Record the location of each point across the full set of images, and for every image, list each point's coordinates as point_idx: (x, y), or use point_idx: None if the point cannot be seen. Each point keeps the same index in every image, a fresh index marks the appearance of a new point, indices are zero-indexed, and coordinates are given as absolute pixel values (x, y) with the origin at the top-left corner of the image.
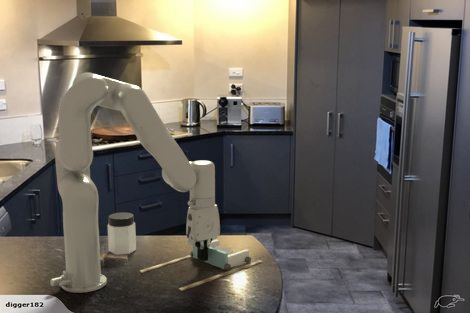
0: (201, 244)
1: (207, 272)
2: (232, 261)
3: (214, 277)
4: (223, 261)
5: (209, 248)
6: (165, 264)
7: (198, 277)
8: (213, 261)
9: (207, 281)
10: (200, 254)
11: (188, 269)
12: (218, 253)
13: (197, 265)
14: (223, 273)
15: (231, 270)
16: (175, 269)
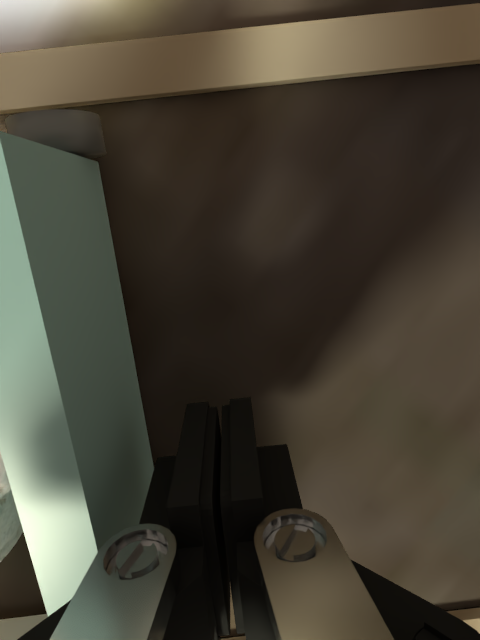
0: (341, 596)
1: (279, 259)
2: None
3: (341, 32)
4: (70, 183)
5: (96, 542)
6: (464, 618)
7: (437, 199)
8: (124, 372)
9: (459, 8)
10: (293, 478)
11: (372, 435)
12: (59, 314)
13: None
14: (178, 71)
15: (40, 89)
16: (457, 499)
